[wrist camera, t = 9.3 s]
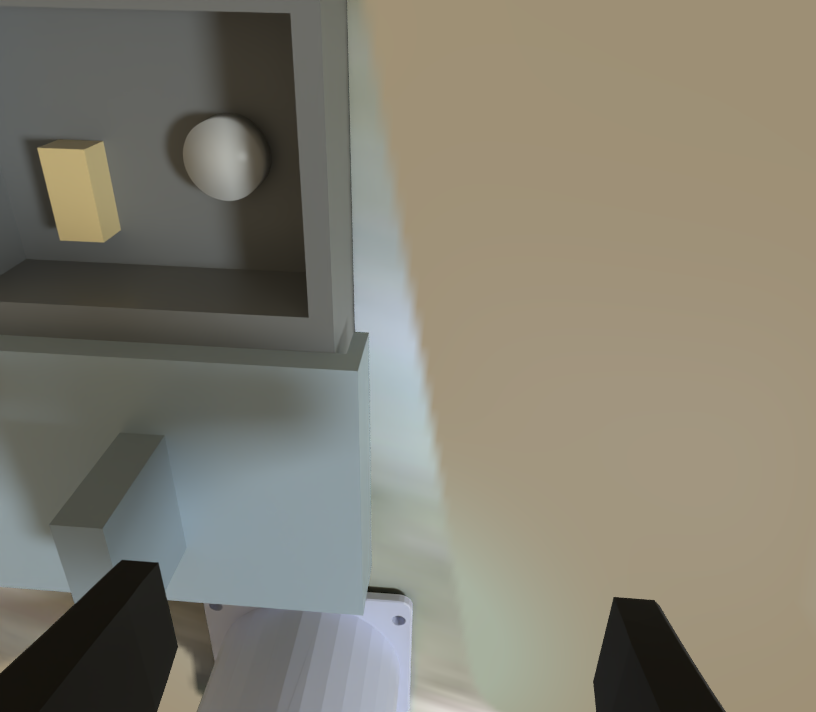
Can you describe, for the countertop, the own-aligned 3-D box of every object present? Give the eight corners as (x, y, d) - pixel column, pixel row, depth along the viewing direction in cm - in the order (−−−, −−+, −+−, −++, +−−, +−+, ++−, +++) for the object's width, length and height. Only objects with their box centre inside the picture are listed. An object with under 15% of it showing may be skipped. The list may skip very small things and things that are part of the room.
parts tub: (358, 505, 23) (343, 576, 21) (80, 486, 24) (29, 552, 21) (346, -22, 16) (319, -22, 13) (-67, -31, 16) (-178, -32, 13)
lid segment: (-44, 310, 18) (-219, 424, 14) (368, 332, 18) (332, 459, 13) (35, 540, 23) (-78, 686, 18) (371, 564, 22) (344, 724, 17)
